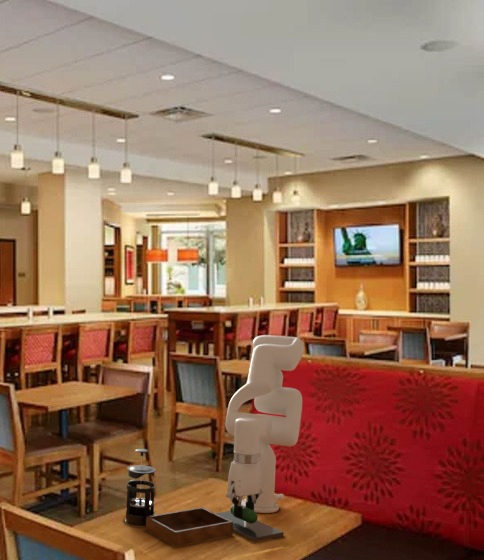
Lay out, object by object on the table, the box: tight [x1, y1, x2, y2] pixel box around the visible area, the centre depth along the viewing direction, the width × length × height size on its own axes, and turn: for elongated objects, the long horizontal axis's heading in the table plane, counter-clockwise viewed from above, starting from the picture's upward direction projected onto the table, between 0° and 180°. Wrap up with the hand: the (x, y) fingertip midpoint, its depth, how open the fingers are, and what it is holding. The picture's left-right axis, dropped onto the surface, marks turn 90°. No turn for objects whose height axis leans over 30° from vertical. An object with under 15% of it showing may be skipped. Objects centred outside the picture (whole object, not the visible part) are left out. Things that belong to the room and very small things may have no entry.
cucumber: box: [229, 504, 259, 523], centre depth 226 cm, size 4×10×4 cm, turn 29°
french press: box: [124, 448, 157, 527], centre depth 229 cm, size 12×9×23 cm
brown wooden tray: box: [145, 506, 234, 547], centre depth 220 cm, size 22×15×4 cm
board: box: [214, 510, 285, 543], centre depth 227 cm, size 12×22×2 cm, turn 29°
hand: (243, 516), depth 226 cm, fingers closed on cucumber, 4 cm apart
